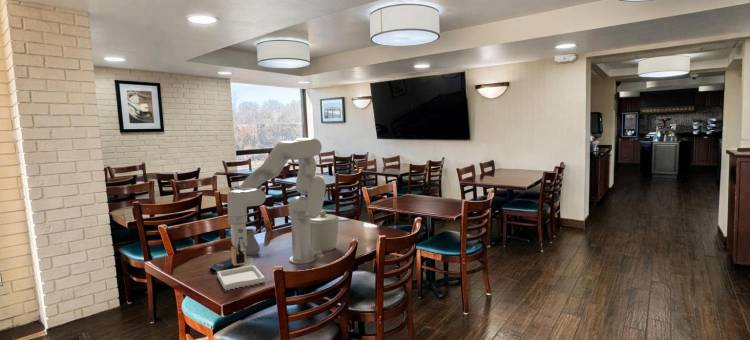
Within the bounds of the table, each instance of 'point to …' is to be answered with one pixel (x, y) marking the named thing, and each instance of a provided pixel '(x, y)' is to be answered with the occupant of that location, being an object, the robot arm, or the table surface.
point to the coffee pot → (253, 242)
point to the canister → (324, 231)
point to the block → (234, 252)
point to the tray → (240, 277)
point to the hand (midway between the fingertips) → (239, 260)
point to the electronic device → (223, 266)
